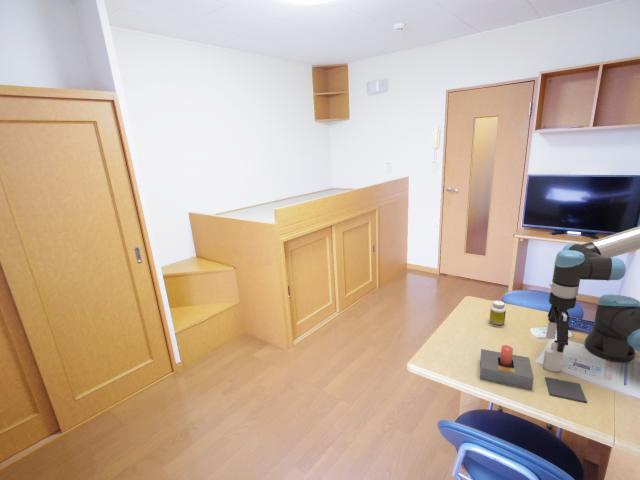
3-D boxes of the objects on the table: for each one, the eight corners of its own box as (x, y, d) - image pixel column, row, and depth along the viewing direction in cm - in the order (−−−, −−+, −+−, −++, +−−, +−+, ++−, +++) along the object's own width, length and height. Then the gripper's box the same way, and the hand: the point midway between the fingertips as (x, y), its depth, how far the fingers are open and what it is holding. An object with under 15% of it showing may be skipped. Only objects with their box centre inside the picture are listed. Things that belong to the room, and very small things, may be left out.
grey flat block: (527, 369, 124) (529, 357, 123) (532, 390, 114) (533, 377, 113) (480, 360, 131) (481, 348, 130) (480, 379, 121) (481, 367, 119)
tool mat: (579, 385, 115) (579, 383, 115) (586, 403, 107) (587, 401, 107) (545, 378, 119) (545, 376, 119) (549, 395, 112) (549, 393, 111)
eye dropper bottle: (558, 375, 120) (563, 346, 117) (540, 368, 125) (544, 340, 121) (562, 370, 123) (567, 341, 120) (545, 363, 127) (549, 335, 124)
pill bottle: (505, 328, 151) (507, 306, 148) (490, 327, 153) (492, 305, 150) (502, 321, 157) (504, 300, 154) (488, 320, 159) (490, 299, 156)
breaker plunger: (510, 361, 122) (512, 346, 120) (511, 367, 119) (513, 352, 117) (499, 359, 124) (501, 344, 122) (500, 365, 121) (501, 350, 119)
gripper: (544, 279, 128) (536, 328, 134) (557, 308, 106) (547, 365, 112) (568, 282, 125) (558, 332, 131) (586, 312, 103) (574, 371, 109)
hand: (553, 347), depth 121 cm, fingers open, 13 cm apart
